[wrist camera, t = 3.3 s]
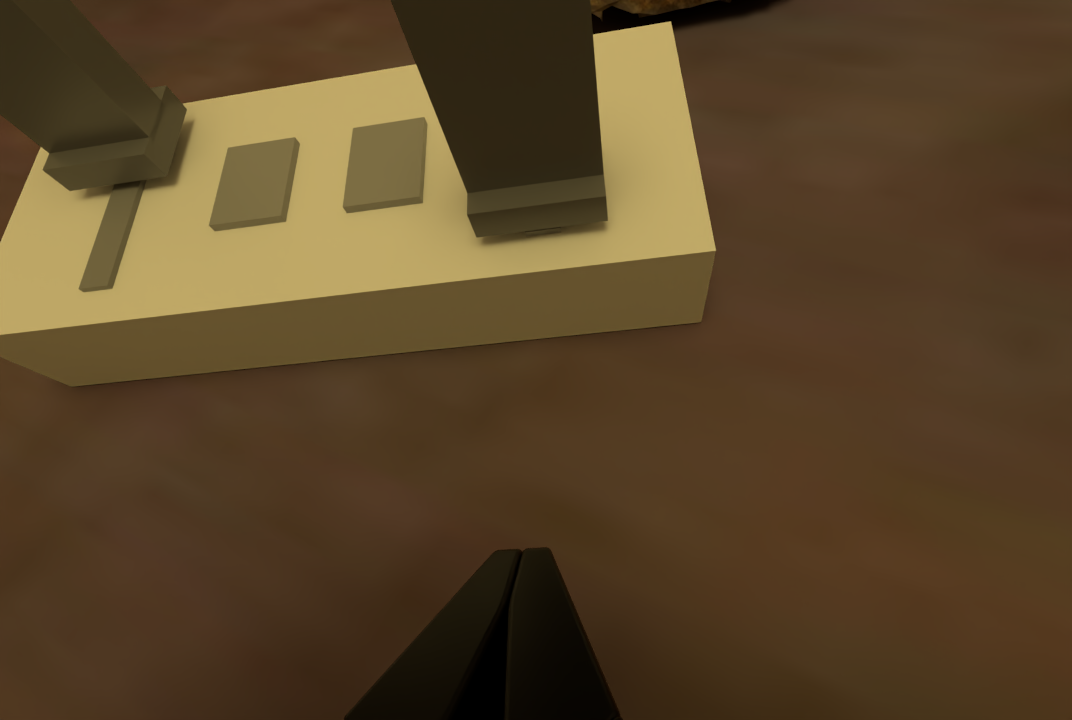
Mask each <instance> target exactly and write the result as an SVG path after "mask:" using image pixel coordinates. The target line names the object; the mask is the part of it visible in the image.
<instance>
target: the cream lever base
mask: <svg viewBox="0 0 1072 720" xmlns="http://www.w3.org/2000/svg"><path fill="white" fill-rule="evenodd" d="M593 41H594V54H595V67H596V80H597V93H598V106H599V119H600V131H601V144H602V157H603V170H604V181H605V190H606V201H607V214H608V221H603V222H595V223H587V224H579V225H572V226H564V227H556V228H548V229H540V230H532V231H524V232H516V233H509V234H501V235H493V236H485V237H477V238H476V235H475V233H474V230H473V228H472V226H471V223H470V221H469V218H468V216H467V191H466V189H465V186H464V184H463V181H462V179H461V176H460V174H459V171H458V169H457V166H456V164H455V161H454V159H453V156H452V153H451V151H450V148H449V146H448V143H447V141H446V138H445V136H444V133H443V131H442V128H441V126H440V123H439V121H438V118H437V116H436V113H435V111H434V108H433V106H432V103H431V101H430V98H429V96H428V93H427V90H426V88H425V85H424V83H423V80H422V78H421V75H420V73H419V70H418V68H417V65H416V64H415V65H409V66H403V67H397V68H391V69H385V70H380V71H374V72H368V73H362V74H356V75H350V76H344V77H338V78H332V79H326V80H320V81H314V82H308V83H303V84H297V85H291V86H285V87H279V88H273V89H267V90H261V91H255V92H249V93H243V94H237V95H231V96H226V97H220V98H214V99H208V100H202V101H196V102H190V103H184V104H183V105H184V106H185V108H186V109H187V111H186V115H185V118H184V122H183V125H182V128H181V132H180V135H179V138H178V142H177V145H176V149H175V152H174V155H173V159H172V162H171V165H170V169H169V172H168V176H166V177H160V178H153V179H146V180H140V181H133V182H127V183H120V184H113V185H107V186H100V187H94V188H87V189H81V190H74V191H69V190H68V189H66V188H65V187H64V186H62V185H61V184H60V183H58V182H57V181H56V180H55V179H53V178H52V177H51V176H49V175H48V174H47V173H45V172H44V171H43V167H44V165H45V163H46V160H47V158H48V155H49V153H48V152H47V151H45V150H44V149H43V148H42V147H41V148H40V150H39V153H38V155H37V157H36V160H35V162H34V164H33V167H32V169H31V172H30V174H29V176H28V179H27V181H26V183H25V186H24V188H23V190H22V193H21V195H20V197H19V200H18V202H17V204H16V207H15V209H14V212H13V214H12V216H11V219H10V221H9V223H8V226H7V228H6V230H5V233H4V235H3V237H2V240H1V242H0V357H1V358H4V359H6V360H9V361H11V362H13V363H16V364H18V365H20V366H23V367H25V368H28V369H30V370H32V371H35V372H37V373H39V374H42V375H44V376H47V377H49V378H51V379H54V380H56V381H58V382H61V383H63V384H66V385H68V386H70V387H74V386H84V385H93V384H103V383H113V382H123V381H132V380H142V379H152V378H162V377H171V376H181V375H191V374H201V373H210V372H220V371H230V370H240V369H249V368H259V367H269V366H279V365H289V364H298V363H308V362H318V361H328V360H337V359H347V358H357V357H367V356H376V355H386V354H396V353H406V352H415V351H425V350H435V349H445V348H454V347H464V346H474V345H484V344H493V343H503V342H513V341H523V340H532V339H542V338H552V337H562V336H572V335H581V334H591V333H601V332H611V331H620V330H630V329H640V328H650V327H659V326H669V325H679V324H689V323H698V322H701V321H702V316H703V311H704V306H705V301H706V296H707V292H708V287H709V282H710V277H711V272H712V267H713V262H714V257H715V253H716V249H715V244H714V238H713V233H712V228H711V223H710V218H709V213H708V208H707V203H706V198H705V193H704V187H703V182H702V177H701V172H700V167H699V162H698V157H697V152H696V147H695V141H694V136H693V131H692V126H691V121H690V116H689V111H688V106H687V101H686V96H685V90H684V85H683V80H682V75H681V70H680V65H679V60H678V55H677V50H676V44H675V39H674V34H673V29H672V24H671V21H670V22H664V23H658V24H652V25H646V26H640V27H634V28H628V29H622V30H616V31H611V32H605V33H599V34H593Z"/></svg>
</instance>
